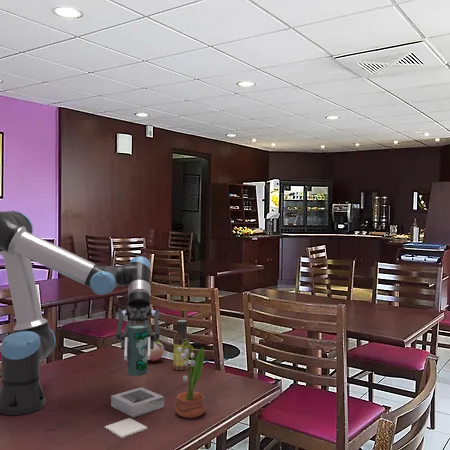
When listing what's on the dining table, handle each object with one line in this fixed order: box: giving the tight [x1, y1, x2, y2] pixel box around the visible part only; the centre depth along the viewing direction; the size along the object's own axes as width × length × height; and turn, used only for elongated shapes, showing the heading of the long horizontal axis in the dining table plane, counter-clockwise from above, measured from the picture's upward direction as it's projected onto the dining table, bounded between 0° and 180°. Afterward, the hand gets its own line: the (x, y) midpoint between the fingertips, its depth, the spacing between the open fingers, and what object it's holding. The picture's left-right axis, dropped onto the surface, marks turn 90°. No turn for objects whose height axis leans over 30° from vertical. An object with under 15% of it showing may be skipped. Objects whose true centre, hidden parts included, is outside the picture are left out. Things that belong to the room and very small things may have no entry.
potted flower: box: [174, 337, 207, 419], centre depth 164 cm, size 12×10×25 cm
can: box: [126, 323, 149, 377], centre depth 163 cm, size 6×6×15 cm
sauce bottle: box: [172, 319, 190, 371], centre depth 210 cm, size 7×6×20 cm
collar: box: [110, 386, 165, 418], centre depth 170 cm, size 12×12×4 cm
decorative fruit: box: [149, 340, 165, 362], centre depth 219 cm, size 9×8×10 cm
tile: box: [104, 417, 148, 439], centre depth 153 cm, size 9×9×1 cm
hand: (137, 357), depth 159 cm, fingers closed on can, 6 cm apart
